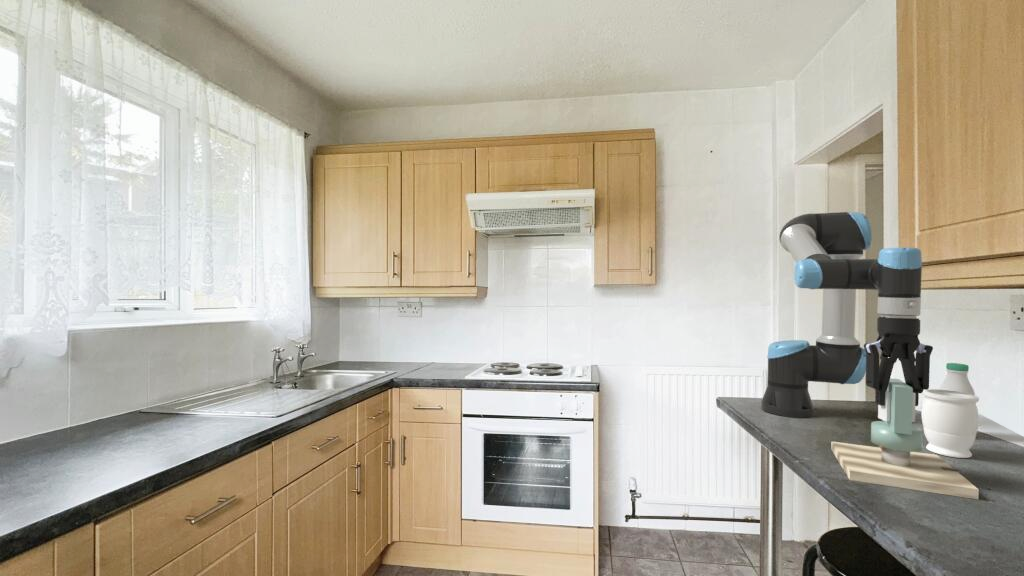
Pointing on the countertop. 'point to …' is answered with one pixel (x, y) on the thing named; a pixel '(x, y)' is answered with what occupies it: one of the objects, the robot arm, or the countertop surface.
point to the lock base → (902, 469)
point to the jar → (950, 422)
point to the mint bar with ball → (898, 421)
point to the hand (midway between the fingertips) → (896, 419)
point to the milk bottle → (957, 379)
